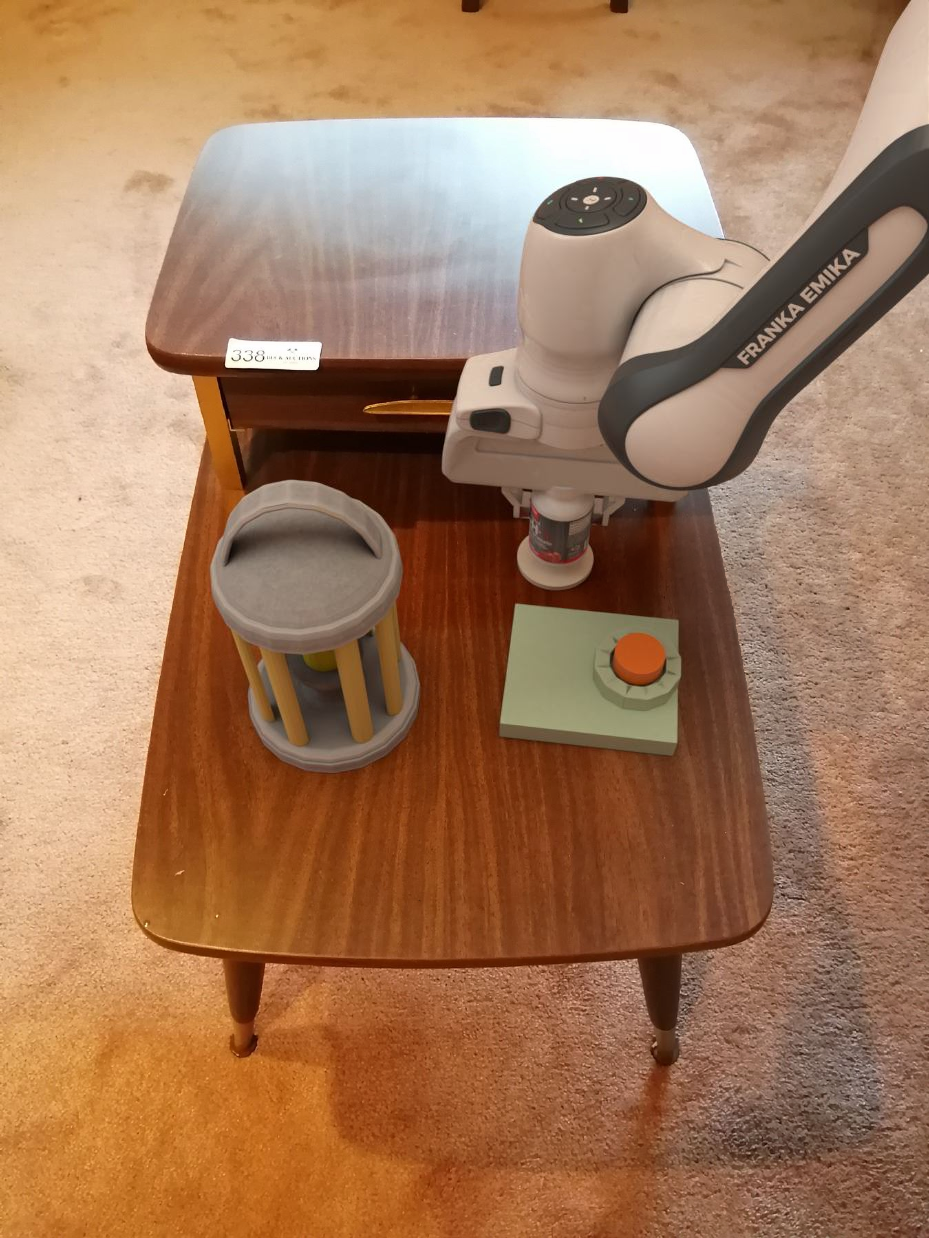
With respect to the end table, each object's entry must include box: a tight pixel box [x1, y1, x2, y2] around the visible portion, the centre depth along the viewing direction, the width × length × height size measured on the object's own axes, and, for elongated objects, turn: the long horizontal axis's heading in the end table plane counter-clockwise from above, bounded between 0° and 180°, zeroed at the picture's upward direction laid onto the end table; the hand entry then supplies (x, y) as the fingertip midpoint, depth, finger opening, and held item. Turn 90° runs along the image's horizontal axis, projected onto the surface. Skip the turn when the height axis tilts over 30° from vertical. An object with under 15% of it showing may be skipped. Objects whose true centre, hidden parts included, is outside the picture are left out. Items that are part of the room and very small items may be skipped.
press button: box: [613, 633, 665, 685], centre depth 79 cm, size 4×4×2 cm
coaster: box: [516, 535, 594, 591], centre depth 91 cm, size 7×7×1 cm
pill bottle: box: [528, 486, 596, 568], centre depth 85 cm, size 5×5×10 cm
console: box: [498, 603, 682, 757], centre depth 81 cm, size 14×12×4 cm
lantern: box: [209, 479, 421, 774], centre depth 72 cm, size 14×14×25 cm
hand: (560, 516), depth 86 cm, fingers closed on pill bottle, 5 cm apart
